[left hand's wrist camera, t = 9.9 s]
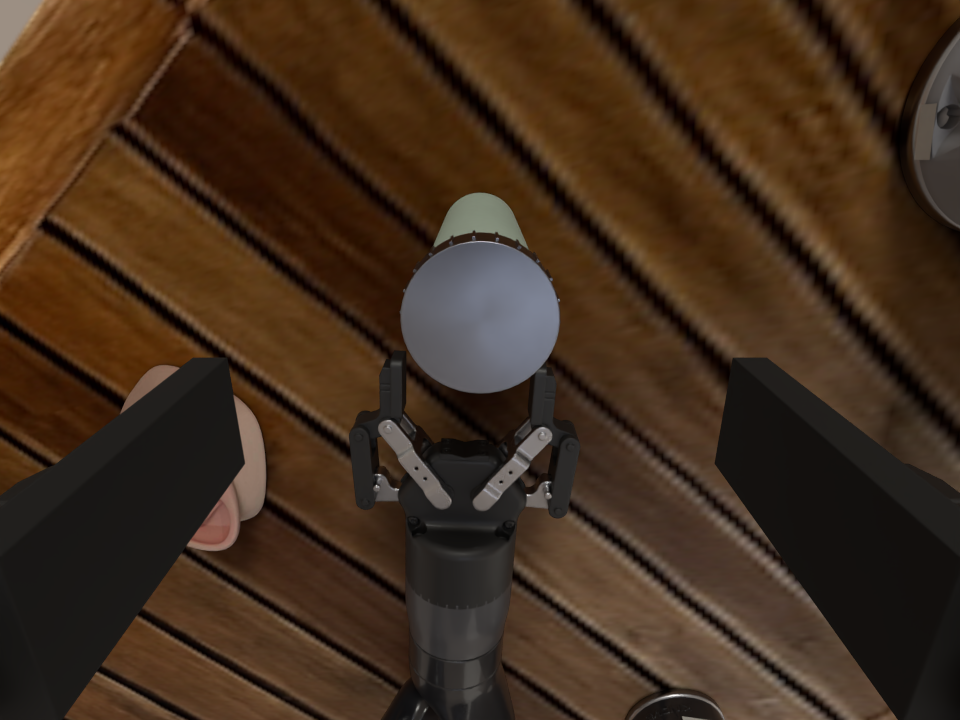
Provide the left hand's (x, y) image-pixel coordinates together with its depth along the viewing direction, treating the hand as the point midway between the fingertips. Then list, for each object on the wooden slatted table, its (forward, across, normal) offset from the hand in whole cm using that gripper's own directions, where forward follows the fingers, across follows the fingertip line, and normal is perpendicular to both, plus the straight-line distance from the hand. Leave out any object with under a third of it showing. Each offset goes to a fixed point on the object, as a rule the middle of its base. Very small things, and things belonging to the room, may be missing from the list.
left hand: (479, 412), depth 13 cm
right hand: (+20, +1, +7) cm, 21 cm away
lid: (+7, 0, 0) cm, 7 cm away
